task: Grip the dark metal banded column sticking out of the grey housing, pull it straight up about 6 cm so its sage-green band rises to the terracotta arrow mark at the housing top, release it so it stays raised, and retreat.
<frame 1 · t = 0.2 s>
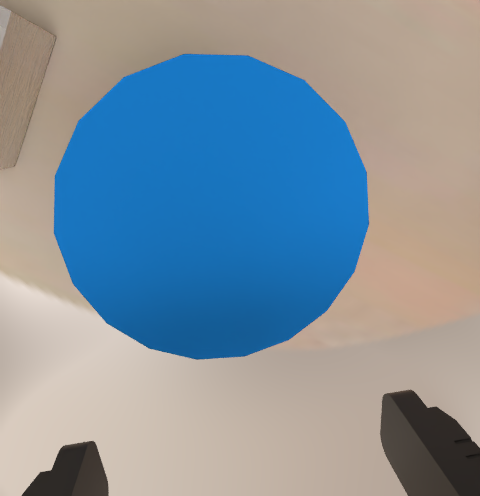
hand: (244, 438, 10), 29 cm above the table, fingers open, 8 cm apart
thermos: (203, 154, 36), on the table
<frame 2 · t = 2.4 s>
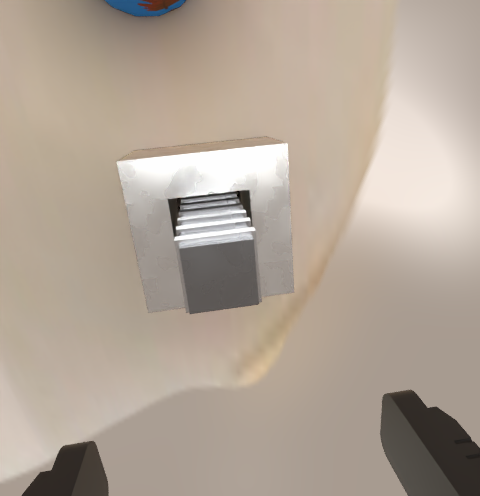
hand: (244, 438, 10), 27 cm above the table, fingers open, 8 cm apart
column: (213, 233, 27), point 8 cm above the table, slide at 0.0 cm
housing: (209, 207, 35), on the table
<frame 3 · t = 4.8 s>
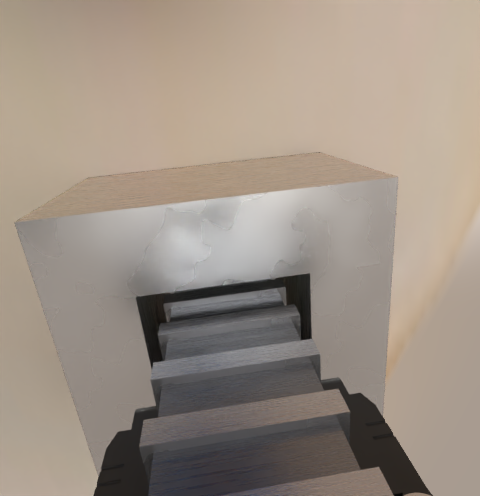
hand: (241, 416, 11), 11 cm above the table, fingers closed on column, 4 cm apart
column: (233, 356, 13), point 8 cm above the table, slide at 0.0 cm, touching gripper
housing: (219, 269, 21), on the table
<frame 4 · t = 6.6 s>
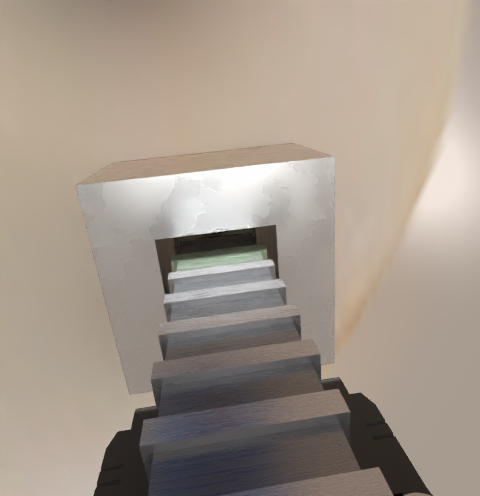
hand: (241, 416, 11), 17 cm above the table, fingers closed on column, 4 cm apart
column: (233, 356, 13), point 14 cm above the table, slide at 5.8 cm, touching gripper
housing: (215, 237, 26), on the table
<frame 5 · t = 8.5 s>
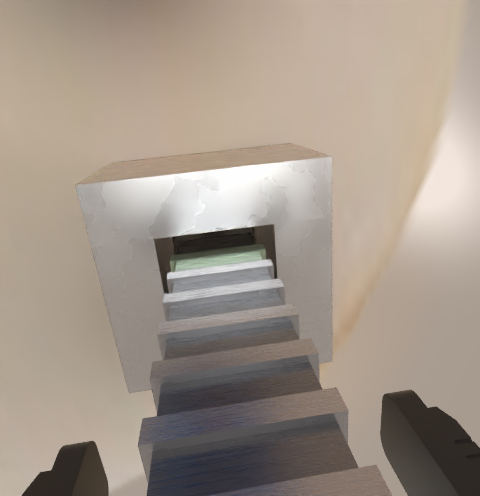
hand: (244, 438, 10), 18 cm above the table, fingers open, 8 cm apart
column: (232, 356, 13), point 14 cm above the table, slide at 5.9 cm
housing: (214, 236, 26), on the table
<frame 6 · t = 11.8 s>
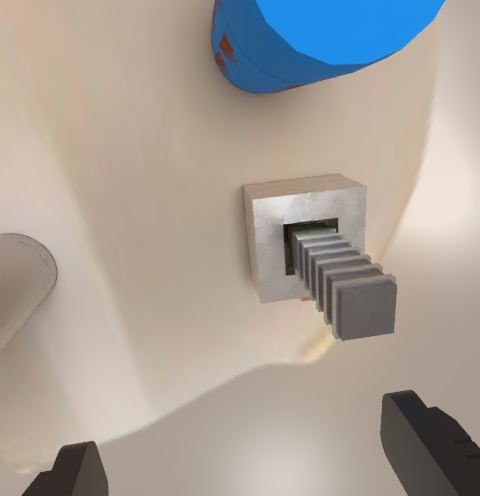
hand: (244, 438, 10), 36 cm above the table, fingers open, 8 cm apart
thermos: (259, 40, 39), on the table
column: (330, 269, 34), point 14 cm above the table, slide at 5.9 cm
housing: (292, 225, 47), on the table
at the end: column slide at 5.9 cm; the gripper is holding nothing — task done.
